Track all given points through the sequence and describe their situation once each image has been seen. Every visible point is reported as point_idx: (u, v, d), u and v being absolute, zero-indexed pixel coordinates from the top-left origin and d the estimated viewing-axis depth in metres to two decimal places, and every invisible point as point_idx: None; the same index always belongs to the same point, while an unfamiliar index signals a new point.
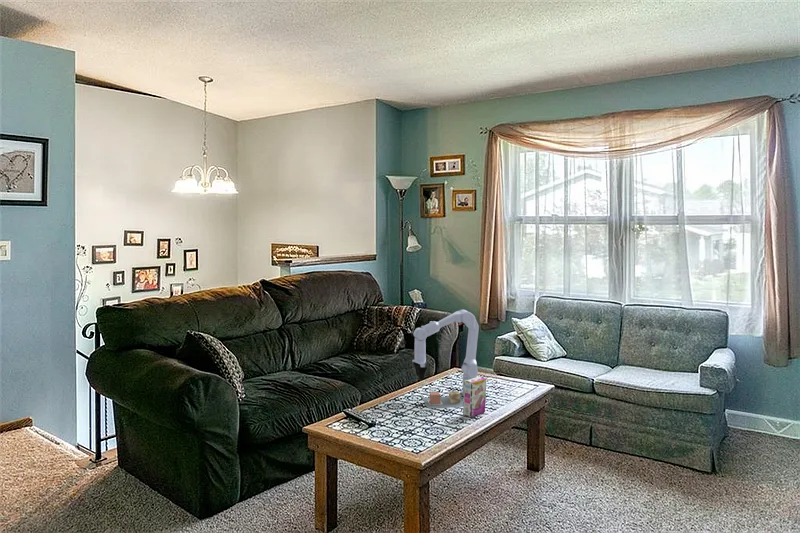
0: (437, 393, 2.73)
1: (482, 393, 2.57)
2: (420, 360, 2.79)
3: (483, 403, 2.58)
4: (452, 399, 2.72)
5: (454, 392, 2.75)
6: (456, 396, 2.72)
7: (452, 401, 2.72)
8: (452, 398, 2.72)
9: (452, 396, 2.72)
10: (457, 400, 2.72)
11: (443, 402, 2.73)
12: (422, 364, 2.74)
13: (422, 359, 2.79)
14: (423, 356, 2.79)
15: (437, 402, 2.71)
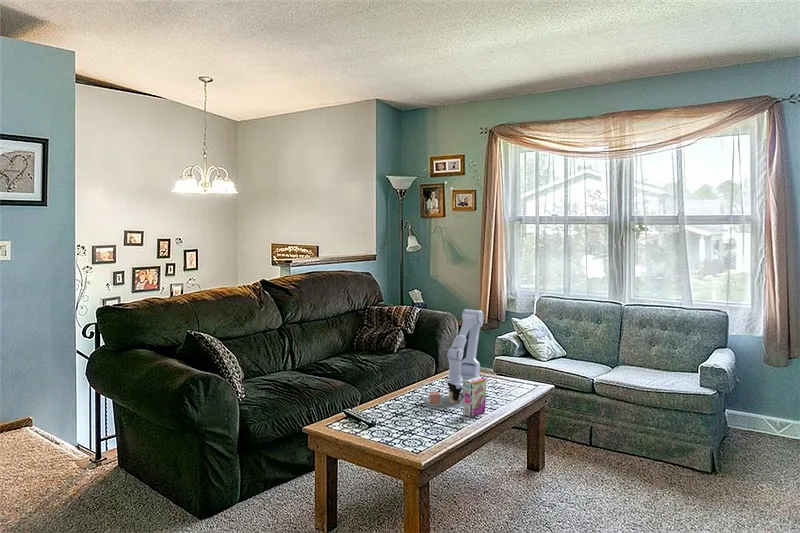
0: (437, 393, 2.73)
1: (482, 393, 2.57)
2: (455, 381, 2.71)
3: (483, 403, 2.58)
4: (452, 399, 2.72)
5: None
6: None
7: (452, 401, 2.72)
8: (452, 398, 2.72)
9: (452, 396, 2.72)
10: None
11: (443, 402, 2.73)
12: (458, 385, 2.67)
13: (457, 380, 2.71)
14: (458, 377, 2.71)
15: (437, 402, 2.71)
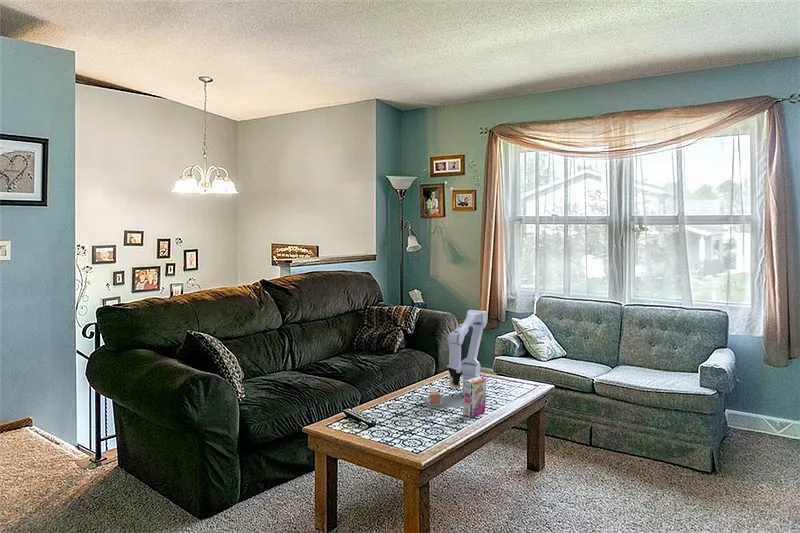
0: (437, 393, 2.73)
1: (482, 393, 2.57)
2: (455, 365, 2.70)
3: (483, 403, 2.58)
4: (452, 384, 2.71)
5: None
6: None
7: (452, 386, 2.71)
8: (452, 383, 2.71)
9: (452, 381, 2.71)
10: (457, 385, 2.72)
11: (443, 402, 2.73)
12: (458, 370, 2.66)
13: (457, 364, 2.70)
14: (458, 361, 2.71)
15: (437, 402, 2.71)
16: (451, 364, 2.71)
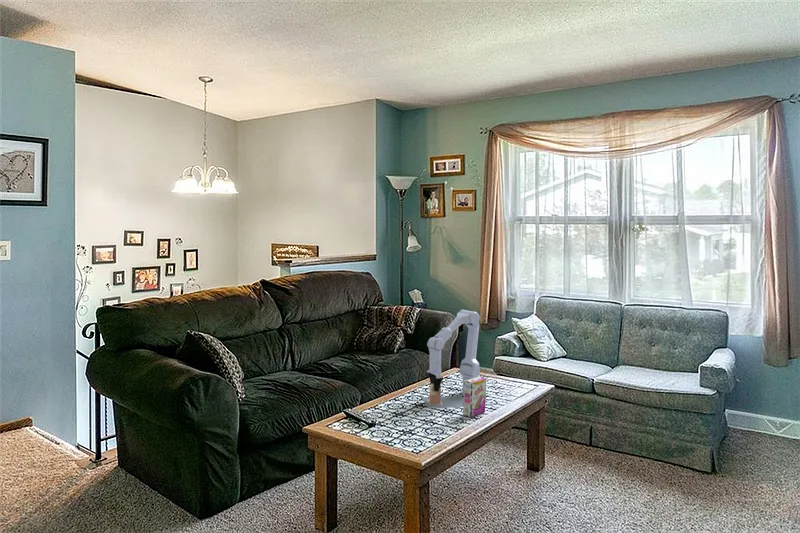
0: None
1: (482, 393, 2.57)
2: (435, 371, 2.69)
3: (483, 403, 2.58)
4: (433, 391, 2.70)
5: None
6: None
7: (433, 393, 2.70)
8: (433, 390, 2.70)
9: (433, 388, 2.70)
10: (438, 392, 2.70)
11: (443, 402, 2.73)
12: (438, 375, 2.65)
13: (437, 370, 2.69)
14: (438, 366, 2.69)
15: (437, 402, 2.71)
16: (431, 369, 2.70)
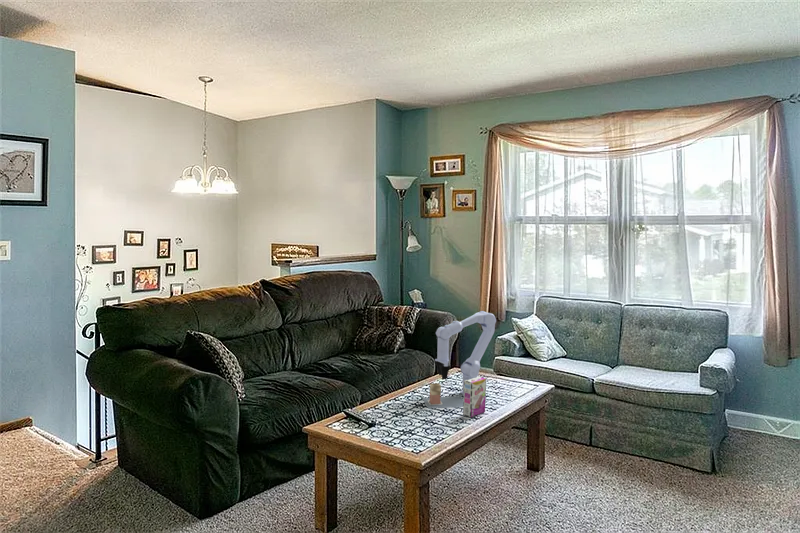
0: None
1: (482, 393, 2.57)
2: (443, 359, 2.78)
3: (483, 403, 2.58)
4: (433, 391, 2.70)
5: (435, 384, 2.73)
6: (437, 388, 2.70)
7: (433, 393, 2.70)
8: (433, 390, 2.70)
9: (433, 388, 2.70)
10: (438, 392, 2.70)
11: (443, 402, 2.73)
12: (446, 363, 2.74)
13: (445, 358, 2.79)
14: (446, 355, 2.79)
15: (437, 402, 2.71)
16: (439, 358, 2.79)
